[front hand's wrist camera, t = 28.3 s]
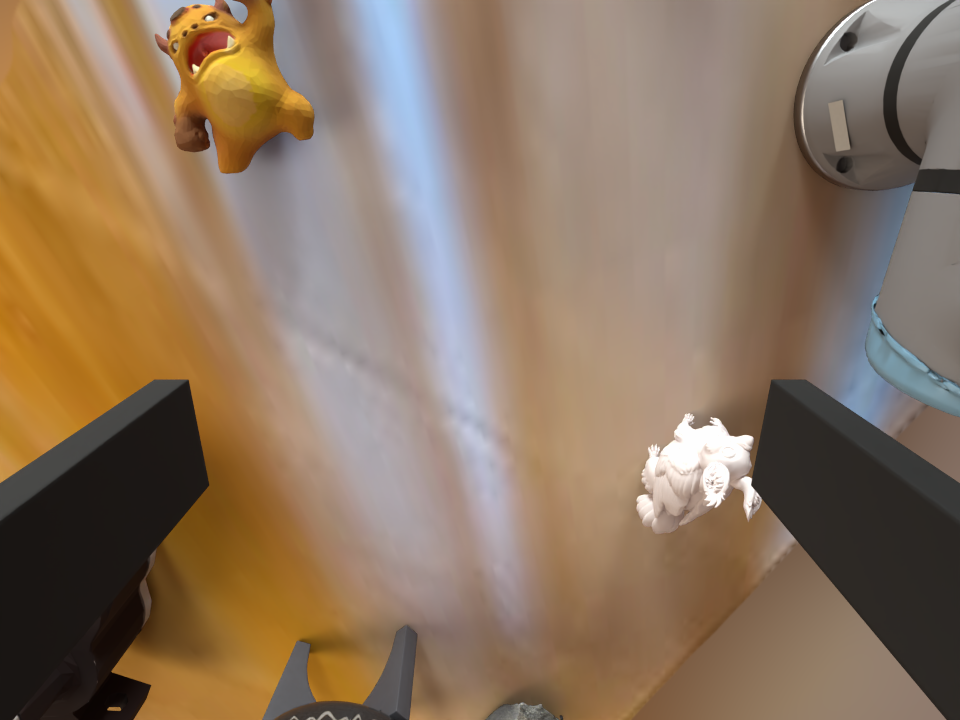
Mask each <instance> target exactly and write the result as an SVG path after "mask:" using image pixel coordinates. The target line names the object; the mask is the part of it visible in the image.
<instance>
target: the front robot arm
mask: <svg viewBox="0 0 960 720" xmlns="http://www.w3.org/2000/svg"><path fill="white" fill-rule="evenodd" d="M794 127H795V134H796V138H797V142H798V144H799V147H800V150H801V152H802V154H803V156H804V157H805V159H806V160H807V162H808V164H809V165H810V166H811V167H812V168H813V169H814V170H815V171H816V172H817V173H818V174H819V175H820V176H822V177H823V178H824V179H826V180H828V181H829V182H831V183H833V184H836V185H838V186H841V187H845V188H850V189H857V190H872V191H873V190H886V189H891V188H897V187H902V186H905V185H909V184H912V183H914V182H915V185H914V188H913V190H912V193H911V196H910V200H909V203H908V206H907V209H906V212H905V215H904V218H903V222H902V225H901V228H900V231H899V234H898V237H897V240H896V244H895V247H894V250H893V253H892V256H891V259H890V262H889V266H888V269H887V272H886V275H885V278H884V281H883V285H882V288H881V291H880V294H879V295H877V296H876V297H875V299H874V300H873V303H872V306H871V309H872V311H871V316H872V319H871V323H870V326H869V330H868V334H867V338H866V342H865V350H866V354H867V357H868V361H869V363H870V365H871V366H872V367H873V369H874V370H875V371H876V372H877V373H878V374H879V375H880V376H881V377H882V378H883V379H884V380H886V381H887V382H888V383H890V384H891V385H892V386H894V387H895V388H897V389H899V390H900V391H902V392H904V393H905V394H907V395H909V396H911V397H913V398H915V399H917V400H918V401H920V402H923V403H925V404H927V405H929V406H931V407H934V408H936V409H938V410H941V411H943V412H946V413H948V414H951V415H954V416H957V417H960V195H959V194H960V0H871V1H869V2H867V3H865V4H863V5H861V6H859V7H858V8H856V9H854V10H853V11H851V12H850V13H849V14H847V15H846V16H845V17H843V18H842V19H841V20H840V21H839V22H837V23H836V24H835V25H834V26H833V27H832V28H831V29H830V30H829V31H828V32H827V34H826V35H825V36H824V37H823V38H822V40H821V41H820V42H819V44H818V45H817V46H816V48H815V49H814V51H813V53H812V54H811V56H810V58H809V60H808V62H807V64H806V65H805V68H804V70H803V72H802V75H801V77H800V81H799V84H798V87H797V92H796V96H795V103H794ZM916 191H918V192H916ZM931 192H940V193H931ZM945 193H955V194H945ZM208 486H209V482H208V476H207V471H206V466H205V461H204V456H203V451H202V446H201V441H200V436H199V431H198V426H197V421H196V415H195V410H194V405H193V400H192V395H191V390H190V385H189V380H153V381H152V382H150V383H149V384H147V385H146V386H144V387H143V388H141V389H140V390H138V391H137V392H135V393H134V394H133V395H131V396H130V397H128V398H127V399H125V400H124V401H122V402H121V403H119V404H118V405H116V406H115V407H113V408H112V409H110V410H109V411H107V412H106V413H104V414H103V415H101V416H100V417H98V418H97V419H95V420H94V421H92V422H91V423H89V424H88V425H86V426H85V427H83V428H82V429H80V430H79V431H77V432H76V433H74V434H73V435H71V436H70V437H68V438H67V439H66V440H64V441H63V442H61V443H60V444H58V445H57V446H55V447H54V448H52V449H51V450H49V451H48V452H46V453H45V454H43V455H42V456H40V457H39V458H37V459H36V460H34V461H33V462H31V463H30V464H28V465H27V466H25V467H24V468H22V469H21V470H19V471H18V472H16V473H15V474H13V475H12V476H10V477H9V478H7V479H6V480H4V481H3V482H1V483H0V720H14V718H15V717H16V716H17V715H18V714H19V712H20V711H21V710H22V709H23V708H24V706H25V705H26V704H27V703H28V702H29V700H30V699H31V698H32V697H33V696H34V694H35V693H36V692H37V691H38V690H39V688H40V687H41V686H42V685H43V684H44V682H45V681H46V680H47V679H48V678H49V676H50V675H51V674H52V673H53V672H54V670H55V669H56V668H57V667H58V666H59V664H60V663H61V662H62V661H63V660H64V659H65V657H66V656H67V655H68V654H69V653H70V651H71V650H72V649H73V648H74V647H75V645H76V644H77V643H78V642H79V641H80V639H81V638H82V637H83V636H84V635H85V633H86V632H87V631H88V630H89V629H90V627H91V626H92V625H93V624H94V623H95V621H96V620H97V619H98V618H99V617H100V615H101V614H102V613H103V612H104V611H105V609H106V608H107V607H108V606H109V605H110V603H111V602H112V601H113V600H114V599H115V597H116V596H117V595H118V594H119V593H120V591H121V590H122V589H123V588H124V587H125V585H126V584H127V583H128V582H129V581H130V579H131V578H132V577H133V576H134V575H135V574H136V572H137V571H138V570H139V569H140V568H141V566H142V565H143V564H144V563H145V562H146V560H147V559H148V558H149V557H150V556H151V554H152V553H153V552H154V551H155V550H156V548H157V547H158V546H159V545H160V544H161V542H162V541H163V540H164V539H165V538H166V536H167V535H168V534H169V533H170V532H171V530H172V529H173V528H174V527H175V526H176V524H177V523H178V522H179V521H180V520H181V518H182V517H183V516H184V515H185V514H186V512H187V511H188V510H189V509H190V508H191V506H192V505H193V504H194V503H195V502H196V500H197V499H198V498H199V497H200V496H201V494H202V493H203V492H204V491H205V490H206V489H207V487H208ZM751 486H752V487H753V489H754V490H755V491H756V492H757V493H758V494H759V496H760V497H761V498H762V499H763V500H764V502H765V503H766V504H767V505H768V506H769V508H770V509H771V510H772V511H773V512H774V514H775V515H776V516H777V517H778V518H779V520H780V521H781V522H782V523H783V524H784V526H785V527H786V528H787V529H788V530H789V532H790V533H791V534H792V535H793V536H794V538H795V539H796V540H797V541H798V542H799V544H800V545H801V546H802V547H803V548H804V550H805V551H806V552H807V553H808V554H809V556H810V557H811V558H812V559H813V560H814V561H815V563H816V564H817V565H818V566H819V568H820V569H821V570H822V571H823V572H824V574H825V575H826V576H827V577H828V578H829V579H830V581H831V582H832V583H833V584H834V585H835V587H836V588H837V589H838V590H839V591H840V593H841V594H842V595H843V596H844V597H845V599H846V600H847V601H848V602H849V603H850V605H851V606H852V607H853V608H854V609H855V611H856V612H857V613H858V614H859V615H860V617H861V618H862V619H863V620H864V621H865V622H866V624H867V625H868V626H869V627H870V629H871V630H872V631H873V632H874V633H875V635H876V636H877V637H878V638H879V639H880V641H881V642H882V643H883V644H884V645H885V647H886V648H887V649H888V650H889V651H890V653H891V654H892V655H893V656H894V657H895V658H896V660H897V661H898V662H899V663H900V664H901V666H902V667H903V668H904V669H905V670H906V672H907V673H908V674H909V675H910V676H911V678H912V679H913V680H914V681H915V682H916V684H917V685H918V686H919V687H920V688H921V690H922V691H923V692H924V693H925V694H926V696H927V697H928V698H929V699H930V700H931V702H932V703H933V704H934V705H935V706H936V708H937V709H938V710H939V711H940V712H941V714H942V715H943V716H944V717H945V718H946V720H960V483H959V482H957V481H956V480H954V479H953V478H951V477H950V476H948V475H947V474H945V473H944V472H942V471H941V470H939V469H938V468H936V467H935V466H933V465H932V464H930V463H929V462H927V461H926V460H924V459H923V458H921V457H920V456H918V455H917V454H915V453H914V452H912V451H911V450H909V449H908V448H906V447H905V446H903V445H902V444H900V443H899V442H897V441H896V440H894V439H893V438H892V437H890V436H889V435H887V434H886V433H884V432H883V431H881V430H880V429H878V428H877V427H875V426H874V425H872V424H871V423H869V422H868V421H866V420H865V419H863V418H862V417H860V416H859V415H857V414H856V413H854V412H853V411H851V410H850V409H848V408H847V407H845V406H844V405H842V404H841V403H839V402H838V401H836V400H835V399H833V398H832V397H830V396H829V395H827V394H826V393H825V392H823V391H822V390H820V389H819V388H817V387H816V386H814V385H813V384H811V383H810V382H808V381H807V380H771V385H770V390H769V395H768V400H767V405H766V410H765V415H764V421H763V426H762V431H761V436H760V441H759V446H758V451H757V456H756V461H755V466H754V471H753V476H752V482H751Z"/></svg>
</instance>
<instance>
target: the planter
mask: <svg viewBox="0 0 960 720" xmlns="http://www.w3.org/2000/svg"><path fill="white" fill-rule="evenodd" d="M416 643H417V633H415V632H414V631H413V630H412V629H411V628H410V627H408V626H407V625H406V626H404V627H403V628H401V629H400V630H398V631H397V633H396V636H395V640H394V644H393V647H392V651H391V654H390V656H389V659H388V661H387V664H386V666H385V669H384V671H383V673H382V675H381V677H380V679H379V680H378V682H377V684H376V686H375V687H374V689H373V690H372V692H371V694H370V695H369V696H368V698H367V699H366V700H365V702H364V703H363V704H362V705H361V704H357V703H351V702H343V701H320V702H316V700H315V698H314V697H313V695H312V692H311V690H310V687H309V683H308V677H307V661H308V656H309V651H310V646H311V644H308V643H304V642H300V641H297V642H296V645H295V647H294V649H293V651H292V654H291V656H290V658H289V660H288V663H287V665H286V667H285V670H284V672H283V674H282V676H281V679H280V681H279V683H278V685H277V688H276V690H275V692H274V694H273V697H272V699H271V701H270V703H269V706H268V708H267V710H266V713H265V715H264V717H263V719H262V720H409V718H410V707H411V696H412V685H413V675H414V664H415V654H416Z"/></svg>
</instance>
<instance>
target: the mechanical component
mask: <svg viewBox="0 0 960 720" xmlns="http://www.w3.org/2000/svg"><path fill="white" fill-rule="evenodd" d="M156 550H157V548H156ZM156 550H155V551H154V552H153V553H152V554H151V556H150V557H149V558H148V559H147V560H146V562H145V563H144V564H143V565H142V566H141V568H140V569H139V570H138V571H137V572H136V574H135V575H134V576H133V577H132V578H131V579H130V581H129V582H128V583H127V584H126V585H125V587H124V588H123V589H122V590H121V591H120V593H119V594H118V595H117V596H116V597H115V599H114V600H113V601H112V602H111V603H110V605H109V606H108V607H107V608H106V609H105V611H104V612H103V613H102V614H101V615H100V617H99V618H98V619H97V620H96V621H95V623H94V624H93V625H92V626H91V627H90V629H89V630H88V631H87V632H86V633H85V635H84V636H83V637H82V638H81V639H80V641H79V642H78V643H77V644H76V645H75V647H74V648H73V649H72V650H71V651H70V653H69V654H68V655H67V656H66V657H65V659H64V660H63V661H62V662H61V663H60V664H59V666H58V667H57V668H56V669H55V670H54V672H53V673H52V674H51V675H50V676H49V678H48V679H47V680H46V681H45V682H44V684H43V685H42V686H41V687H40V688H39V690H38V691H37V692H36V693H35V694H34V696H33V697H32V698H31V699H30V700H29V702H28V703H27V704H26V705H25V706H24V708H23V709H22V710H21V711H20V712H19V714H18V715H17V716H16V717H15V718H14V720H133V719H134V718H135V716H136V715H137V713H138V711H139V710H140V708H141V707H142V705H143V703H144V702H145V700H146V698H147V695H148V693H149V690H150V687H151V685H149V684H146V683H143V682H140V681H136V680H133V679H130V678H127V677H124V676H121V675H118V674H115V673H112V672H111V671H112V669H113V668H114V667H115V665H116V664H117V663H118V661H119V660H120V658H121V657H122V656H123V654H124V653H125V652H126V650H127V649H128V647H129V646H130V645H131V643H132V642H133V641H134V639H135V638H136V636H137V635H138V634H139V632H140V631H141V629H142V628H143V626H144V624H145V623H146V621H147V620H148V618H149V616H150V609H151V602H152V601H151V597H150V594H149V590H148V587H147V583H146V580H145V579H146V577H147V575H148V574H149V572H150V570H151V569H152V567H153V565H154V562H155V556H156ZM109 707H120V708H121V711H108V710H107V709H108V708H109Z"/></svg>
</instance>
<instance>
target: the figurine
mask: <svg viewBox="0 0 960 720" xmlns="http://www.w3.org/2000/svg"><path fill="white" fill-rule="evenodd" d="M692 415H693V414H692ZM692 415H690V413H689V414H688V415H687V414H686V415H685V418H684V419H683V421H682V423H680V424H679V426H678V427H677V430H675V432H674V434H675V435H674V437H675V439H676V440H674V441H672V442H671V443H670V444H669V445H668V446H666V447H665V448H664V449H663V450H662V452H661V453H660V455H659V457H658V454H659V451H660V448H658V449H657V444H656V445H655V447H653V444H652V446H651V450H650V448H649V449H648V451H649V459H648V460H647V462H646V465H645V468H644V470H643V473H642V480H641V481H642V483H643V484H644V485H645V489H646V490H648V492H649V493H651V494H645V495H641V496H639V497H638V498H637V500H636V501H637V503H638V505H637V511H638V512H639V517H640V518H641V519H642V523H643V525H644V526H646V527H652V530H653V531H654V533H656V534H662V533H665V532H666V533H671V532H673V531H675V530H676V529H677V528H678V526H679V525H685V524H687V523H689V522H691V521H693V520H694V519H696V518H697V517H699V516H702V515H704V514H705V513H707V512H708V511H710V510H711V509H712V508H713V507H714V506H715V508H716V507H718V506H719V505H720V504H721V502H722V501H724V500H725V499H726V498H727V497H728V496H729V495H730V493H731V492H732V490H733V488H736V489H739V490H742V491H743V493H744V510H745V512H746V515H747V520H748V522H749V519H750V518H751V519H752V514H755V512H756V511H757V510H758V509H759V508H760V505H761V500H762V499H761V497H760V496H759V494H758V493H757V492H756V491H755V490H754V489H753V487H752V486H751V482H752V479H751V478H750V477H747V476H745V475H746V474H747V473H748V472H749V470H750V469H751V467H752V465H751V461H750V452H749V451H751V450H752V446H753V443H754V438H753V437H752V436H749V435H743V436H739V437H734V436H730V435H729V434H728V431H727V430H726V428H725V427H724V426H723V425H722V423H721V421H720V420H719V419H717V418H712V417H710V418H711V419H712V420H713V421H714V422H713V421H710V423H711V424H713V425H714V426H704V427H703V428H699V429H693V428H691V427H690V425H692V424H694V423H693V422H691V421H692V420H693V419H694V417H695V416H694V417H692ZM689 416H690V417H689ZM654 448H655V449H654ZM684 510H689V512H688V513H687V514H686V515H685V517H684Z"/></svg>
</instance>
